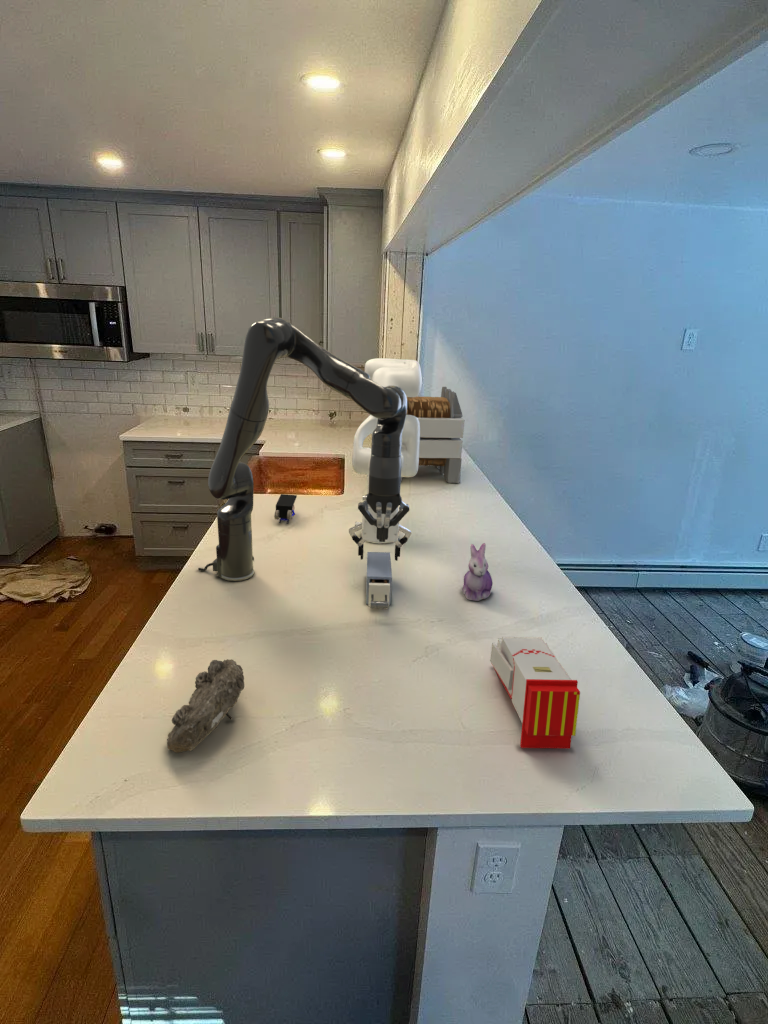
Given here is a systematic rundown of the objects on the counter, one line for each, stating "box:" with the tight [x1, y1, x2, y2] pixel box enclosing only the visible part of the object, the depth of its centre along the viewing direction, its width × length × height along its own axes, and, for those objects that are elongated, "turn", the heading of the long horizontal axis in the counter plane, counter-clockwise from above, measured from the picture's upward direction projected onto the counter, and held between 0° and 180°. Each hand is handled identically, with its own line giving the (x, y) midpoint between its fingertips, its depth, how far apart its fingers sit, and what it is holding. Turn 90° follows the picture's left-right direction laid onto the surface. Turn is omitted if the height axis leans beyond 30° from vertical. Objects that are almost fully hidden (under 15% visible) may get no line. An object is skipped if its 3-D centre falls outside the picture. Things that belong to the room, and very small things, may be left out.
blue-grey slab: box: [365, 551, 393, 606], centre depth 158 cm, size 16×7×8 cm, turn 1°
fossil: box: [166, 658, 245, 754], centre depth 106 cm, size 22×10×15 cm
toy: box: [489, 636, 581, 749], centre depth 115 cm, size 12×13×30 cm
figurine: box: [462, 542, 493, 602], centre depth 157 cm, size 9×10×15 cm
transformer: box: [401, 386, 465, 484], centre depth 268 cm, size 34×33×41 cm
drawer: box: [367, 579, 390, 609], centre depth 152 cm, size 21×5×6 cm, turn 1°
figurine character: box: [274, 493, 298, 525], centre depth 208 cm, size 7×8×15 cm
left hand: (382, 540), depth 139 cm, fingers closed
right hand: (378, 558), depth 159 cm, fingers open, 9 cm apart
